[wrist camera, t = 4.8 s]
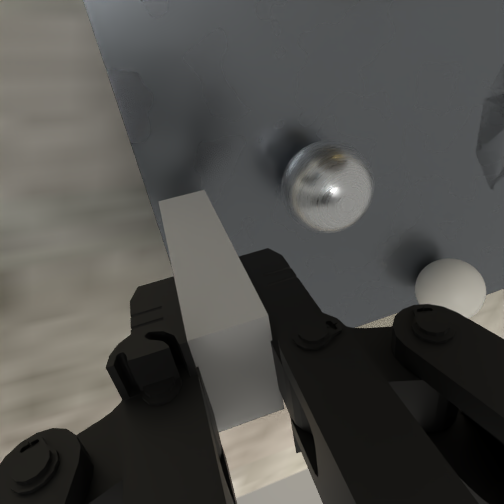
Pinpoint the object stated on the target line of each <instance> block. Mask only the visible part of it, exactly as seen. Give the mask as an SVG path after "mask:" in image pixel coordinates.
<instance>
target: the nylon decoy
mask: <svg viewBox="0 0 504 504" xmlns="http://www.w3.org/2000/svg"><path fill="white" fill-rule="evenodd" d="M415 294H416V298H417V300H418V303H419V304H432V305H438V306H443V307H446V308H448V309H450V310H453V311H455V312H457V313H459V314H461V315H463V316H464V317H466V318H470V317H472V316H473V315H475V314H476V313H477V312H478V311H479V310H480V309H481V307H482V305H483V304H484V301H485V298H486V286H485V282H484V280H483V277H482V276H481V274H480V273H479V272H478V271H477V269H475V268H474V267H473V266H472V265H470V264H468V263H467V262H464V261H462V260H458V259H451V258H447V259H440V260H436V261H434V262H432V263H430V264H428V265H427V266H426V267H425V268H424V269H423V270H422V271H421V272H420V274H419V275H418V277H417V280H416V284H415Z"/></svg>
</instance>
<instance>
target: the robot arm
mask: <svg viewBox="0 0 504 504" xmlns="http://www.w3.org/2000/svg"><path fill="white" fill-rule="evenodd" d="M158 202H159V207H160V211H161V216H162V221H163V226H164V231H165V236H166V241H167V245H168V250H169V255H170V260H171V265H172V270H173V274H174V277H170V278H167V279H164V280H160V281H157V282H153V283H150V284H146V285H143V286H139V287H138V288H137V290H136V291H135V293H134V295H133V297H132V299H131V301H130V314H131V329H132V330H131V335H130V336H128V337H127V338H126V339H124V340H123V341H122V342H120V343H119V344H118V345H117V346H116V348H115V349H114V350H113V352H112V353H111V354H110V356H109V359H108V362H107V366H106V369H107V371H108V373H109V375H110V377H111V379H112V381H113V383H114V384H115V386H116V388H117V390H118V392H119V394H120V396H121V398H122V401H121V403H120V404H119V405H118V406H117V407H116V408H115V409H114V410H113V411H112V412H111V413H109V414H108V415H107V416H105V417H104V418H103V419H101V420H100V421H98V422H97V423H95V424H93V425H92V426H90V427H89V428H87V429H86V430H84V431H82V432H81V433H79V434H78V435H75V434H73V433H72V432H70V431H69V430H67V429H58V428H52V429H49V430H45V431H42V432H39V433H36V434H34V435H33V436H31V437H29V438H28V439H26V440H24V441H23V442H21V443H20V444H19V445H17V446H16V447H15V448H14V449H13V450H12V451H11V452H10V453H9V454H8V455H7V456H6V457H5V458H4V459H3V461H2V462H1V464H0V504H237V501H236V497H235V493H234V489H233V485H232V481H231V477H230V472H229V468H228V464H227V460H226V457H225V454H224V451H223V448H222V445H221V441H220V437H219V432H221V431H224V430H227V429H230V428H232V427H235V426H238V425H241V424H243V423H246V422H249V421H252V420H255V419H257V418H260V417H263V416H266V415H268V414H271V413H274V412H277V411H279V410H282V409H284V404H283V400H284V402H285V405H286V407H287V409H288V412H289V414H290V418H291V424H292V430H293V436H294V443H295V448H296V453H299V452H302V454H303V457H304V459H305V462H306V464H307V466H308V469H309V471H310V473H311V476H312V478H313V481H314V483H315V485H316V488H317V490H318V493H319V495H320V497H321V500H322V502H323V504H504V339H502V338H501V337H499V336H497V335H496V334H494V333H492V332H490V331H489V330H487V329H485V328H483V327H482V326H480V325H478V324H476V323H475V322H473V321H471V320H470V319H468V318H466V317H464V316H463V315H461V314H459V313H457V312H455V311H453V310H450V309H448V308H446V307H443V306H438V305H432V304H419V305H412V306H410V307H407V308H404V309H402V310H401V311H400V312H399V313H398V314H397V315H396V316H395V318H394V322H393V326H392V327H379V328H352V327H347V326H345V325H344V324H343V323H342V322H341V321H340V320H339V319H337V318H336V317H333V316H330V315H328V314H325V313H323V312H322V311H321V309H320V308H319V307H318V305H317V304H316V302H315V301H314V299H313V298H312V297H311V295H310V294H309V292H308V291H307V290H306V288H305V287H304V285H303V284H302V283H301V281H300V280H299V278H297V276H296V274H295V273H294V271H293V270H292V268H290V266H289V264H288V263H287V261H286V260H285V258H284V257H283V256H282V255H281V254H279V253H277V252H275V251H273V250H271V249H269V248H266V249H263V250H259V251H256V252H252V253H249V254H245V255H242V256H239V257H238V255H237V253H236V251H235V249H234V247H233V245H232V243H231V241H230V239H229V237H228V235H227V233H226V231H225V229H224V227H223V225H222V223H221V221H220V220H219V218H218V216H217V214H216V212H215V210H214V208H213V206H212V204H211V202H210V200H209V198H208V196H207V194H206V192H205V190H201V191H197V192H193V193H190V194H186V195H182V196H178V197H174V198H170V199H166V200H162V201H158Z"/></svg>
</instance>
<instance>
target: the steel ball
mask: <svg viewBox="0 0 504 504" xmlns="http://www.w3.org/2000/svg"><path fill="white" fill-rule="evenodd" d="M373 194H374V177H373V172H372V169H371V167H370V165H369V163H368V161H367V160H366V158H365V157H364V156H363V155H362V154H361V153H360V152H359V151H358V150H357V149H355V148H354V147H352V146H351V145H348V144H346V143H343V142H340V141H333V140H324V141H319V142H315V143H312V144H310V145H308V146H306V147H304V148H302V149H301V150H300V151H299V152H297V153H296V154H295V155H294V156H293V157H292V159H291V160H290V161H289V163H288V164H287V166H286V168H285V170H284V173H283V176H282V181H281V195H282V200H283V203H284V206H285V208H286V210H287V212H288V213H289V215H290V216H291V217H292V219H293V220H295V221H296V222H297V223H298V224H299V225H301V226H302V227H304V228H306V229H308V230H310V231H314V232H318V233H335V232H339V231H342V230H345V229H347V228H349V227H351V226H352V225H354V224H355V223H356V222H358V221H359V220H360V219H361V218H362V217H363V215H364V214H365V213H366V211H367V210H368V208H369V206H370V204H371V202H372V199H373Z"/></svg>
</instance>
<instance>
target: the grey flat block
mask: <svg viewBox="0 0 504 504" xmlns="http://www.w3.org/2000/svg"><path fill="white" fill-rule="evenodd" d="M83 2H84V5H85V8H86V11H87V14H88V17H89V20H90V23H91V26H92V29H93V32H94V35H95V38H96V41H97V44H98V47H99V50H100V53H101V56H102V59H103V62H104V65H105V68H106V71H107V74H108V77H109V80H110V83H111V86H112V89H113V92H114V95H115V98H116V101H117V104H118V107H119V110H120V113H121V116H122V119H123V122H124V125H125V128H126V131H127V134H128V137H129V140H130V143H131V146H132V149H133V152H134V155H135V158H136V161H137V164H138V167H139V170H140V173H141V176H142V179H143V182H144V185H145V188H146V191H147V194H148V197H149V200H150V203H151V206H152V209H153V212H154V215H155V218H156V221H157V224H158V227H159V230H160V233H161V236H162V239H163V242H164V245H165V248H166V251H167V254H168V257H169V260H170V255H169V250H168V245H167V241H166V236H165V231H164V226H163V221H162V216H161V211H160V207H159V202H158V201H162V200H166V199H170V198H174V197H178V196H182V195H186V194H190V193H193V192H197V191H201V190H205V192H206V194H207V196H208V198H209V200H210V202H211V204H212V206H213V208H214V210H215V212H216V214H217V216H218V218H219V220H220V221H221V223H222V225H223V227H224V229H225V231H226V233H227V235H228V237H229V239H230V241H231V243H232V245H233V247H234V249H235V251H236V253H237V255H238V257H239V256H242V255H245V254H249V253H252V252H256V251H259V250H263V249H266V248H269V249H271V250H273V251H275V252H277V253H279V254H281V255H282V256H283V257H284V258H285V260H286V261H287V263H288V264H289V266H290V268H292V270H293V271H294V273H295V274H296V276H297V278H299V280H300V281H301V283H302V284H303V285H304V287H305V288H306V290H307V291H308V292H309V294H310V295H311V297H312V298H313V299H314V301H315V302H316V304H317V305H318V307H319V308H320V309H321V311H322V312H323V313H325V314H328V315H330V316H333V317H336V318H337V319H339V320H340V321H341V322H342V323H343V324H344V325H345V326H347V327H352V328H355V327H358V326H361V325H364V324H366V323H369V322H372V321H375V320H378V319H381V318H384V317H387V316H389V315H392V314H395V313H398V312H400V311H401V310H402V309H404V308H407V307H410V306H412V305H419V303H418V300H417V298H416V294H415V284H416V280H417V277H418V275H419V274H420V272H421V271H422V270H423V269H424V268H425V267H426V266H427V265H428V264H430V263H432V262H434V261H436V260H440V259H447V258H451V259H458V260H462V261H464V262H467V263H468V264H470V265H472V266H473V267H474V268H475V269H477V271H478V272H479V273H480V274H481V276H482V277H483V280H484V282H485V286H486V295H487V294H490V293H493V292H496V291H498V290H501V289H504V0H83ZM324 140H333V141H340V142H343V143H346V144H348V145H351V146H352V147H354V148H355V149H357V150H358V151H359V152H360V153H361V154H362V155H363V156H364V157H365V158H366V160H367V161H368V163H369V165H370V167H371V169H372V172H373V177H374V194H373V199H372V202H371V204H370V206H369V208H368V210H367V211H366V213H365V214H364V215H363V217H362V218H361V219H360V220H359V221H358V222H356V223H355V224H354V225H352V226H351V227H349V228H347V229H345V230H342V231H339V232H335V233H318V232H314V231H310V230H308V229H306V228H304V227H302V226H301V225H299V224H298V223H297V222H296V221H295V220H293V219H292V217H291V216H290V215H289V213H288V212H287V210H286V208H285V206H284V203H283V200H282V195H281V181H282V176H283V173H284V170H285V168H286V166H287V164H288V163H289V161H290V160H291V159H292V157H293V156H294V155H295V154H296V153H297V152H299V151H300V150H301V149H302V148H304V147H306V146H308V145H310V144H312V143H315V142H319V141H324ZM170 263H171V260H170ZM171 266H172V265H171Z"/></svg>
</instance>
